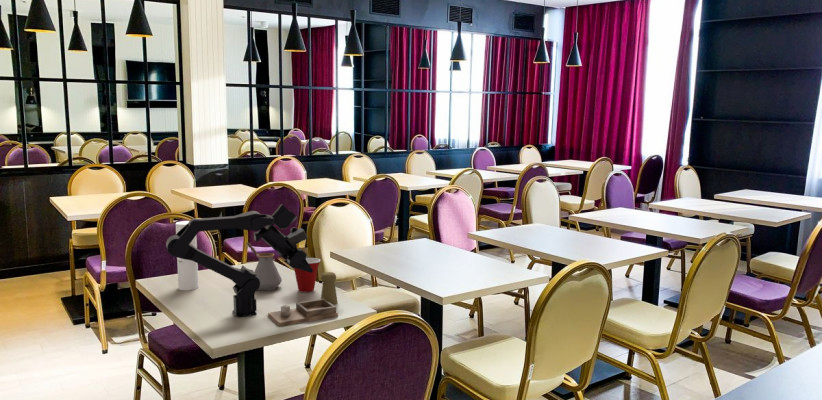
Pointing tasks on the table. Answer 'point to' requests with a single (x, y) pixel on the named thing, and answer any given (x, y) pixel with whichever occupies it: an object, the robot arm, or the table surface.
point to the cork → (329, 287)
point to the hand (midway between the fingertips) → (308, 268)
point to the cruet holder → (304, 312)
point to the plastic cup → (307, 276)
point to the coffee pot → (266, 270)
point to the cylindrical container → (187, 266)
